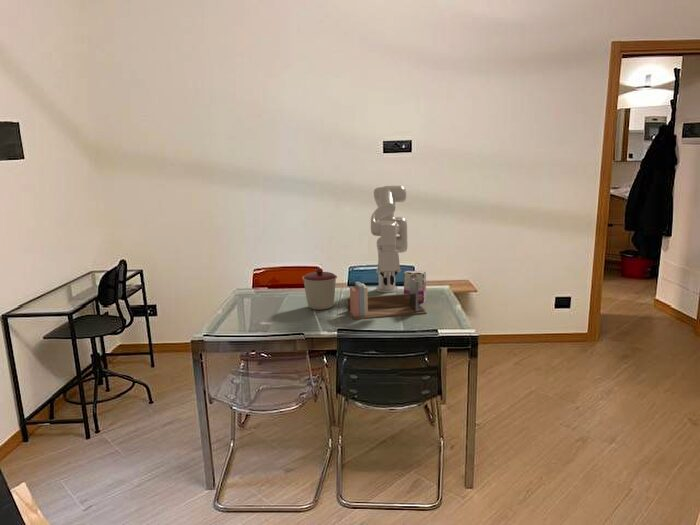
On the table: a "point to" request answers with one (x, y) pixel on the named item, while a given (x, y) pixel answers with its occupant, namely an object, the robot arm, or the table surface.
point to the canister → (320, 289)
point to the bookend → (414, 296)
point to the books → (359, 299)
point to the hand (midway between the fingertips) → (388, 284)
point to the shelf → (387, 306)
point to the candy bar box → (421, 280)
